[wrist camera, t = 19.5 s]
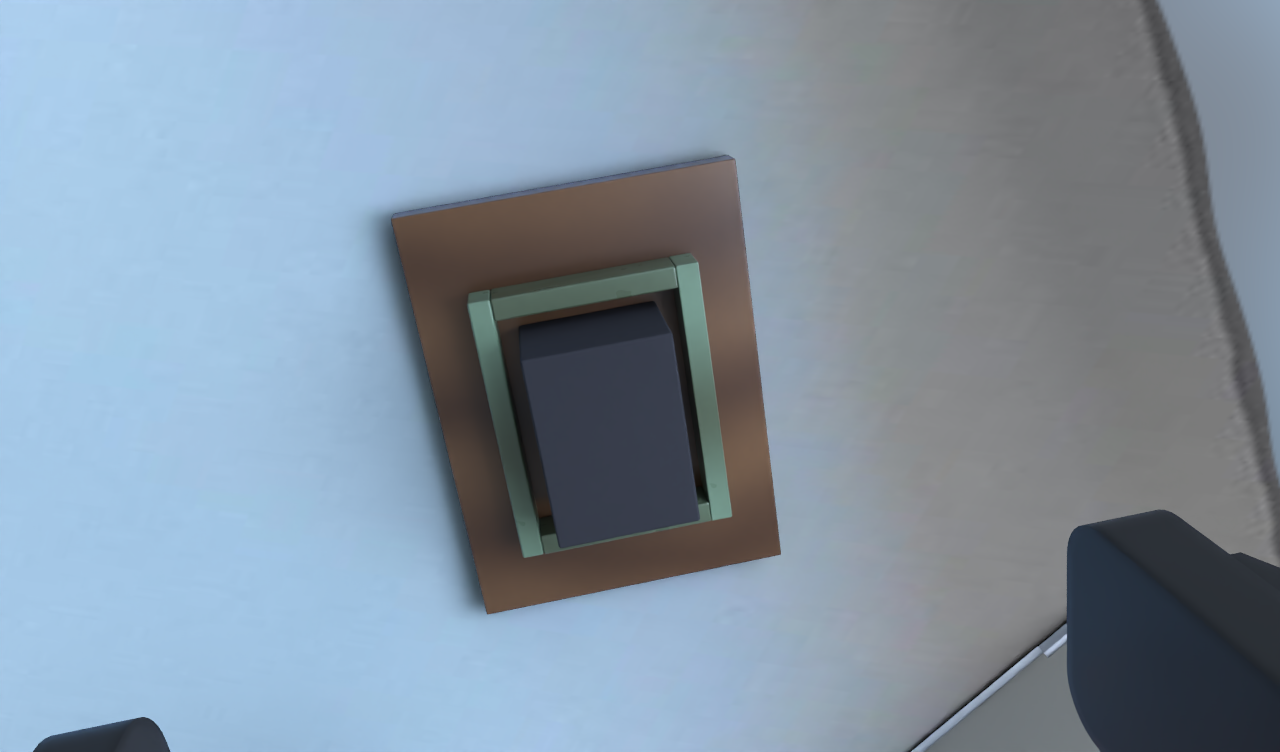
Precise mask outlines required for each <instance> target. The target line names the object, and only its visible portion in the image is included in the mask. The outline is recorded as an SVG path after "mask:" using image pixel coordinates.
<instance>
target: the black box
mask: <svg viewBox="0 0 1280 752" xmlns="http://www.w3.org/2000/svg"><path fill="white" fill-rule="evenodd" d="M518 331H519V349H520V364H521V369H522V374H523V379H524V383H525V388H526V393H527V398H528V402H529V407H530V412H531V417H532V422H533V426H534V431H535V436H536V441H537V445H538V450H539V455H540V460H541V465H542V469H543V474H544V479H545V484H546V489H547V493H548V498H549V503H550V508H551V512H552V517H553V522H554V527H555V532H556V536H557V541H558V546H559V547H560V548H566V547H571V546H576V545H581V544H586V543H591V542H596V541H601V540H606V539H611V538H616V537H621V536H626V535H631V534H635V533H640V532H645V531H650V530H655V529H660V528H665V527H670V526H675V525H680V524H685V523H690V522H695V521H699V520H700V514H699V507H698V501H697V494H696V487H695V480H694V474H693V467H692V460H691V454H690V447H689V440H688V434H687V427H686V420H685V413H684V407H683V400H682V393H681V387H680V380H679V373H678V366H677V360H676V353H675V346H674V340H673V334H672V332H671V330H670V328H669V327H668V325H667V323H666V321H665V319H664V317H663V316H662V314H661V312H660V310H659V308H658V306H657V304H656V303H655V301H650V302H644V303H639V304H634V305H628V306H623V307H617V308H612V309H607V310H601V311H596V312H591V313H585V314H580V315H574V316H569V317H564V318H558V319H553V320H548V321H542V322H537V323H531V324H526V325H521V326H519V328H518Z"/></svg>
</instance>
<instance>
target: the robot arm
mask: <svg viewBox="0 0 1280 752" xmlns="http://www.w3.org/2000/svg"><path fill="white" fill-rule="evenodd" d="M1067 677H1068V684H1069V688H1070V693H1071V696H1072V699H1073V703H1074V705H1075V708H1076V711H1077V713H1078V716H1079V718H1080V720H1081V722H1082V724H1083V726H1084V728H1085V730H1086V732H1087V733H1088V735H1089V737H1090V738H1091V740H1092V741H1093V742H1094V744H1095V745H1096V746H1097V748H1098V749H1099V750H1100V751H1101V752H1280V568H1279V567H1276V566H1274V565H1271V564H1269V563H1266V562H1264V561H1261V560H1258V559H1256V558H1253V557H1251V556H1248V555H1246V554H1243V553H1241V552H1240V553H1236V554H1231V555H1230V554H1228V553H1227V552H1226V551H1224V550H1223V549H1222V548H1220V547H1219V546H1218V545H1216V544H1215V543H1214V542H1212V541H1211V540H1209V539H1208V538H1207V537H1205V536H1204V535H1203V534H1201V533H1200V532H1199V531H1197V530H1196V529H1195V528H1193V527H1192V526H1190V525H1189V524H1188V523H1186V522H1185V521H1184V520H1182V519H1181V518H1180V517H1178V516H1177V515H1175V514H1173V513H1172V512H1169V511H1166V510H1155V511H1150V512H1145V513H1140V514H1135V515H1131V516H1126V517H1121V518H1116V519H1111V520H1106V521H1102V522H1097V523H1092V524H1087V525H1082V526H1078V527H1077V528H1075V529H1074V531H1073V532H1072V533H1071V536H1070V538H1069V542H1068V547H1067ZM33 752H170V750H169V747H168V745H167V742H166V740H165V738H164V735H163V733H162V732H161V730H160V728H159V727H158V726H157V725H156V724H155V722H154V721H152V720H150V719H149V718H145V717H141V718H136V719H131V720H126V721H121V722H116V723H111V724H107V725H102V726H97V727H92V728H87V729H82V730H77V731H73V732H68V733H63V734H58V735H53V736H50V737H48V738H46V739H44V740H43V741H42V742H41V743H39V744H38V746H37V747H36V748H35V750H34V751H33Z"/></svg>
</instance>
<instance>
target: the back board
mask: <svg viewBox="0 0 1280 752" xmlns="http://www.w3.org/2000/svg"><path fill="white" fill-rule="evenodd" d="M391 222H392V226H393V230H394V234H395V239H396V243H397V247H398V251H399V255H400V259H401V263H402V267H403V271H404V276H405V280H406V284H407V288H408V292H409V296H410V300H411V304H412V308H413V313H414V317H415V321H416V325H417V329H418V333H419V337H420V341H421V345H422V349H423V354H424V358H425V362H426V366H427V370H428V374H429V378H430V382H431V386H432V391H433V395H434V399H435V403H436V407H437V411H438V415H439V419H440V423H441V428H442V432H443V436H444V440H445V444H446V448H447V452H448V456H449V460H450V465H451V469H452V473H453V477H454V481H455V485H456V489H457V493H458V497H459V502H460V506H461V510H462V514H463V518H464V522H465V526H466V530H467V534H468V538H469V543H470V547H471V551H472V555H473V559H474V563H475V567H476V571H477V575H478V580H479V584H480V588H481V592H482V596H483V600H484V604H485V608H486V612H487V614H492V613H497V612H502V611H507V610H512V609H517V608H522V607H526V606H531V605H536V604H541V603H546V602H551V601H556V600H561V599H566V598H571V597H575V596H580V595H585V594H590V593H595V592H600V591H605V590H610V589H615V588H619V587H624V586H629V585H634V584H639V583H644V582H649V581H654V580H659V579H664V578H668V577H673V576H678V575H683V574H688V573H693V572H698V571H703V570H708V569H712V568H717V567H722V566H727V565H732V564H737V563H742V562H747V561H752V560H757V559H761V558H766V557H771V556H776V555H780V554H781V550H780V541H779V533H778V524H777V515H776V507H775V498H774V489H773V481H772V472H771V463H770V455H769V446H768V438H767V429H766V420H765V412H764V403H763V394H762V386H761V377H760V368H759V360H758V351H757V343H756V334H755V325H754V317H753V308H752V299H751V291H750V282H749V273H748V265H747V256H746V248H745V239H744V230H743V222H742V213H741V204H740V196H739V187H738V178H737V170H736V161H735V159H734V158H732V157H731V156H729V155H727V156H721V157H716V158H710V159H704V160H698V161H693V162H687V163H681V164H675V165H670V166H664V167H658V168H653V169H647V170H641V171H635V172H630V173H624V174H618V175H612V176H607V177H601V178H595V179H590V180H584V181H578V182H572V183H567V184H561V185H555V186H549V187H544V188H538V189H532V190H527V191H521V192H515V193H509V194H504V195H498V196H492V197H487V198H481V199H475V200H469V201H464V202H458V203H452V204H446V205H441V206H435V207H429V208H424V209H418V210H412V211H406V212H401V213H395V214H394V215H393V217H392V219H391ZM650 301H655V303H656V304H657V306H658V308H659V310H660V312H661V314H662V316H663V317H664V319H665V321H666V323H667V325H668V327H669V328H670V330H671V332H672V334H673V340H674V346H675V353H676V360H677V366H678V373H679V380H680V387H681V393H682V400H683V407H684V413H685V420H686V427H687V434H688V440H689V447H690V454H691V460H692V467H693V474H694V480H695V487H696V494H697V501H698V507H699V514H700V520H699V521H695V522H690V523H685V524H680V525H675V526H670V527H665V528H660V529H655V530H650V531H645V532H640V533H635V534H631V535H626V536H621V537H616V538H611V539H606V540H601V541H596V542H591V543H586V544H581V545H576V546H571V547H566V548H560V547H559V546H558V541H557V536H556V532H555V527H554V522H553V517H552V512H551V508H550V503H549V498H548V493H547V489H546V484H545V479H544V474H543V469H542V465H541V460H540V455H539V450H538V445H537V441H536V436H535V431H534V426H533V422H532V417H531V412H530V407H529V402H528V398H527V393H526V388H525V383H524V379H523V374H522V369H521V364H520V349H519V331H518V328H519V326H521V325H526V324H531V323H537V322H542V321H548V320H553V319H558V318H564V317H569V316H574V315H580V314H585V313H591V312H596V311H601V310H607V309H612V308H617V307H623V306H628V305H634V304H639V303H644V302H650Z"/></svg>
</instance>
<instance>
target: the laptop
mask: <svg viewBox="0 0 1280 752" xmlns="http://www.w3.org/2000/svg"><path fill="white" fill-rule="evenodd" d="M911 752H1101V751H1100V750H1099V749H1098V748H1097V746H1096V745H1095V744H1094V742H1093V741H1092V740H1091V738H1090V737H1089V735H1088V733H1087V732H1086V730H1085V728H1084V726H1083V724H1082V722H1081V720H1080V718H1079V716H1078V713H1077V711H1076V708H1075V705H1074V703H1073V699H1072V696H1071V693H1070V688H1069V684H1068V677H1067V623H1066V624H1065V625H1063V626H1062V627H1061V628H1060V629H1059V630H1057V631H1056V632H1055V633H1054V634H1053V635H1051V636H1050V637H1049V638H1048V639H1047V640H1045V641H1044V642H1043V643H1042V644H1041V645H1039V647H1038V646H1037V647H1036V648H1035V649H1034V650H1033V651H1031V652H1030V653H1029V654H1028V655H1027V656H1025V657H1024V658H1023V659H1022V660H1021V661H1019V662H1018V663H1017V664H1016V665H1015V666H1013V667H1012V668H1011V669H1010V670H1009V671H1007V672H1006V673H1005V674H1004V675H1003V676H1001V677H1000V678H999V679H998V680H997V681H995V682H994V683H993V684H992V685H990V686H989V687H988V688H987V689H986V690H984V691H983V692H982V693H981V694H980V695H978V696H977V697H976V698H975V699H974V700H972V701H971V702H970V703H969V704H968V705H966V706H965V707H964V708H963V709H962V710H960V711H959V712H958V713H957V714H956V715H954V716H953V717H952V718H951V719H950V720H948V721H947V722H946V723H945V724H944V725H942V726H941V727H940V728H939V729H938V730H936V731H935V732H934V733H933V734H932V735H930V736H929V737H928V738H927V739H926V740H924V741H923V742H922V743H921V744H920V745H918V746H917V747H916V748H915V749H914V750H912V751H911Z"/></svg>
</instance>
